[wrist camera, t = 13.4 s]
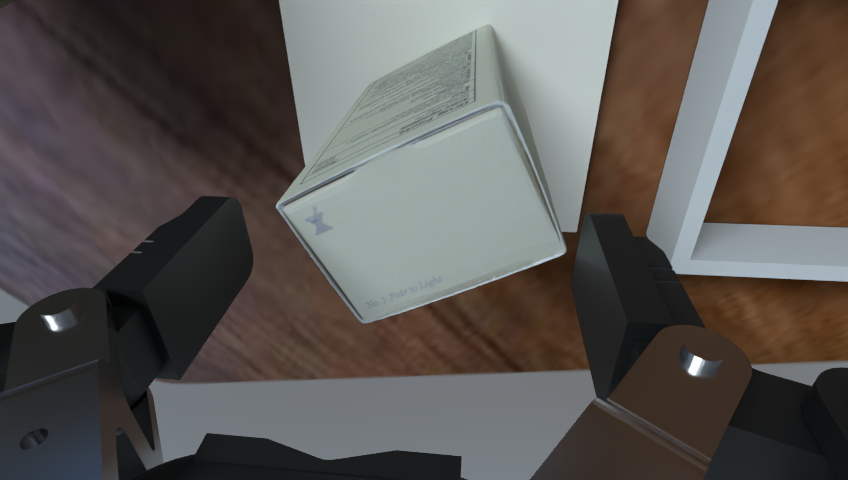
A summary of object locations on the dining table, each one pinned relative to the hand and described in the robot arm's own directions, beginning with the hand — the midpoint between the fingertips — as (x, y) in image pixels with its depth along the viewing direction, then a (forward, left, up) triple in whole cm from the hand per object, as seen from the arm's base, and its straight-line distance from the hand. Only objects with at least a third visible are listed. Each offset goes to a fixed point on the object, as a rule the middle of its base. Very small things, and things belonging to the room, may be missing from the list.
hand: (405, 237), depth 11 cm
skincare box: (0, 0, -13) cm, 13 cm away
